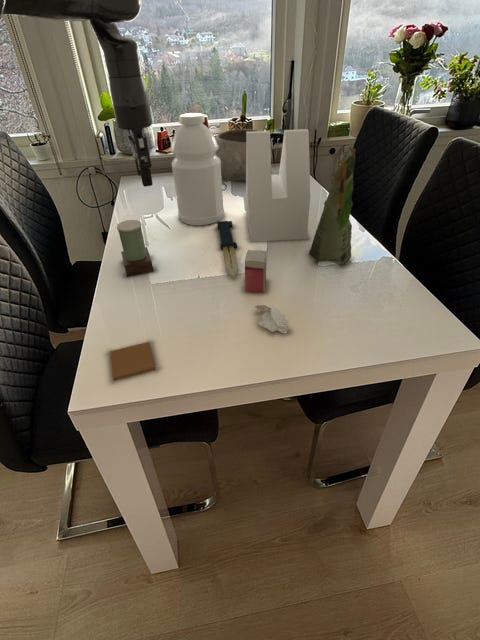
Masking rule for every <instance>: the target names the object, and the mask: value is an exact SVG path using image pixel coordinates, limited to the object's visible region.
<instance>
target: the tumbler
mask: <svg viewBox="0 0 480 640" xmlns="http://www.w3.org/2000/svg"><path fill="white" fill-rule="evenodd" d="M115 228H116V229H117V232H118V235H119V240H120V243H121V247H122V251H124V255H125V259H126V260H129V261H138V260H141V259H144V258H145V257H146V256H147V252H146V248H145V247H146V243H145V238H144V233H143V230H142V221H140V220H137V219H127V220H123V221H120V222H119V223H117V224H116V226H115Z"/></svg>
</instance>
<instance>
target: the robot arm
mask: <svg viewBox="0 0 480 640" xmlns="http://www.w3.org/2000/svg"><path fill="white" fill-rule="evenodd" d="M141 9H142V0H0V19H1V18H2V16H3V15H5V16H7V15H9V16H21V17H28V18H37V19H45V20H53V21H62V22H63V21H64V22H89V24H90V26H91V29H92V30H93V33H94V36H95V38H96V40H97V43H98V44H99V47H100V49H101V51H102V54H103V61H104V65H105V71H106V74H107V79H108V89H109V94H110V99H111V104H112V110H113V113H114V118H115V123H116V127H117V128H118V129H120V130H124V131H125V130H126V131H127V133H128V135H127V137H126V138H127V141H128V145H129V149H130V153H132V157H133V159H134V162H135V169H136V172H137V175H138V176H139V177H140V178H141V184H142V186H143V187H152V186H153V183H154V182H153V178H152V171H151V168H152V161H151V152H150V147H149V140H148V136H147V135H146V133H144V131H143V129H144V128H150V127H151V126H152V125H153V119H152V112H151V106H150V105H151V104H150V99H149V94H148V93H149V92H148V88H147V87H148V86H147V84H146V81H145V76H144V71H143V70H144V69H143V63H142V58H141V52H140V48H139V44H138V42H136V40H134V39H131V38H128V37H125V36H123V35H122V34H121V31H120V30H119V28H118V26H117V24H116V23H129V22H132V21H134V20H136V18H137V17H138V16H139V14H140V11H141Z"/></svg>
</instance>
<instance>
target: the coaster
mask: <svg viewBox="0 0 480 640" xmlns="http://www.w3.org/2000/svg"><path fill="white" fill-rule="evenodd" d="M109 355H110V363H111V364H110V365H111V372H112V380H113V381H117V380H120V379H124V378H125V379H126V378H128V377H132V376H136V375H139V374H142V373H147V372H151V371H154V370H155V371H156V365H155V361H154V358H153V353H152V350H151V345H150V342H149V341H145V342H142V343H139V344H138V343H137V344H134V345H131V346H126V347H122V348H118V349H114V350H111V351H109Z"/></svg>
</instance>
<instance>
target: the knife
mask: <svg viewBox="0 0 480 640" xmlns="http://www.w3.org/2000/svg"><path fill="white" fill-rule="evenodd" d="M216 223H217V230H218V231H219V237H220V238H219V239H220V250H222V252H223V259H224V264H225V270H226V272H227V274H228V275H229V276H230V277H231V278H233V279H235V277H236V276H237V274H238V272H239V265H238V260H237V256H236V251H235V250H236V249H238V243H237V242H236V241H234V238H233V234H232V230H231V229H233V221H232V220H219V221H217V222H216Z"/></svg>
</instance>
